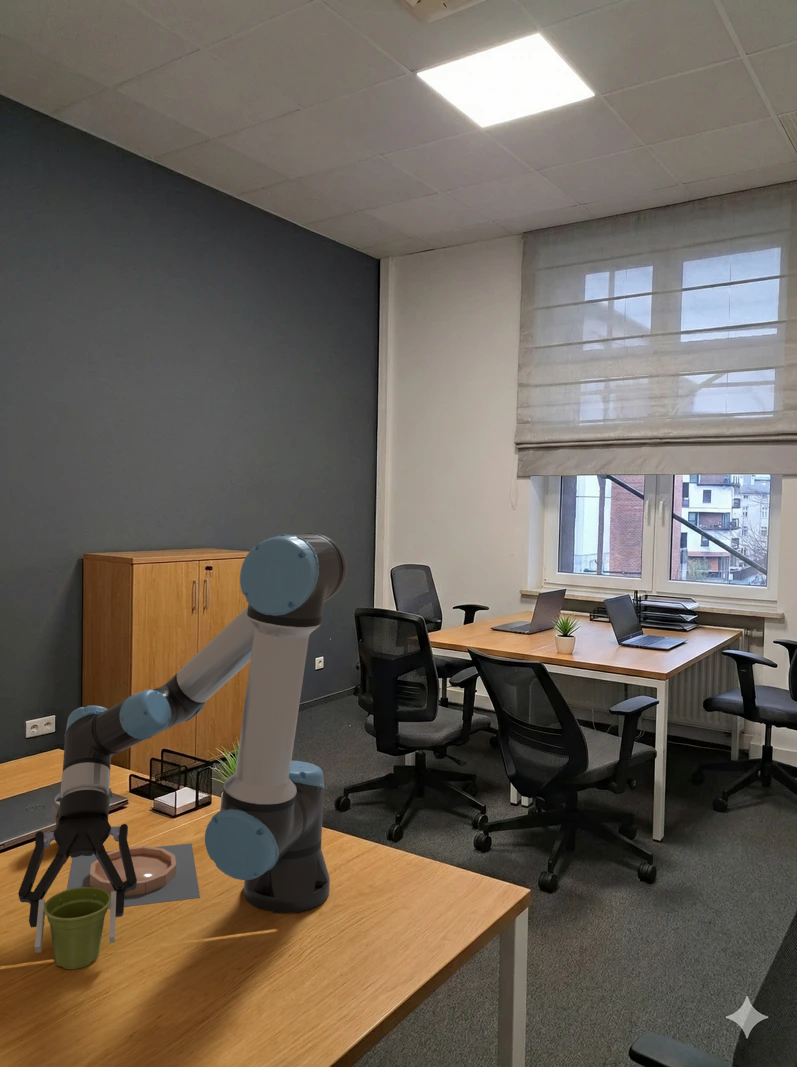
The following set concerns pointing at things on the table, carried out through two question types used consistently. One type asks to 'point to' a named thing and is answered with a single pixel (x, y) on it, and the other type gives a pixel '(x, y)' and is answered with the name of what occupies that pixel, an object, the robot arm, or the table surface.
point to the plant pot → (77, 924)
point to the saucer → (138, 869)
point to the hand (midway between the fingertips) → (75, 944)
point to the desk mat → (175, 890)
